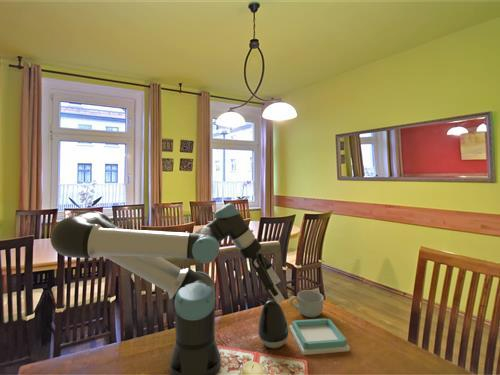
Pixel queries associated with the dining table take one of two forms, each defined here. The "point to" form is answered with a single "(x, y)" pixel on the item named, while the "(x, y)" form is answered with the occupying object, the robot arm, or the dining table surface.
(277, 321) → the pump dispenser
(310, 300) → the teacup
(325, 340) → the dock
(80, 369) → the dining table surface
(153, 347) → the dining table surface
